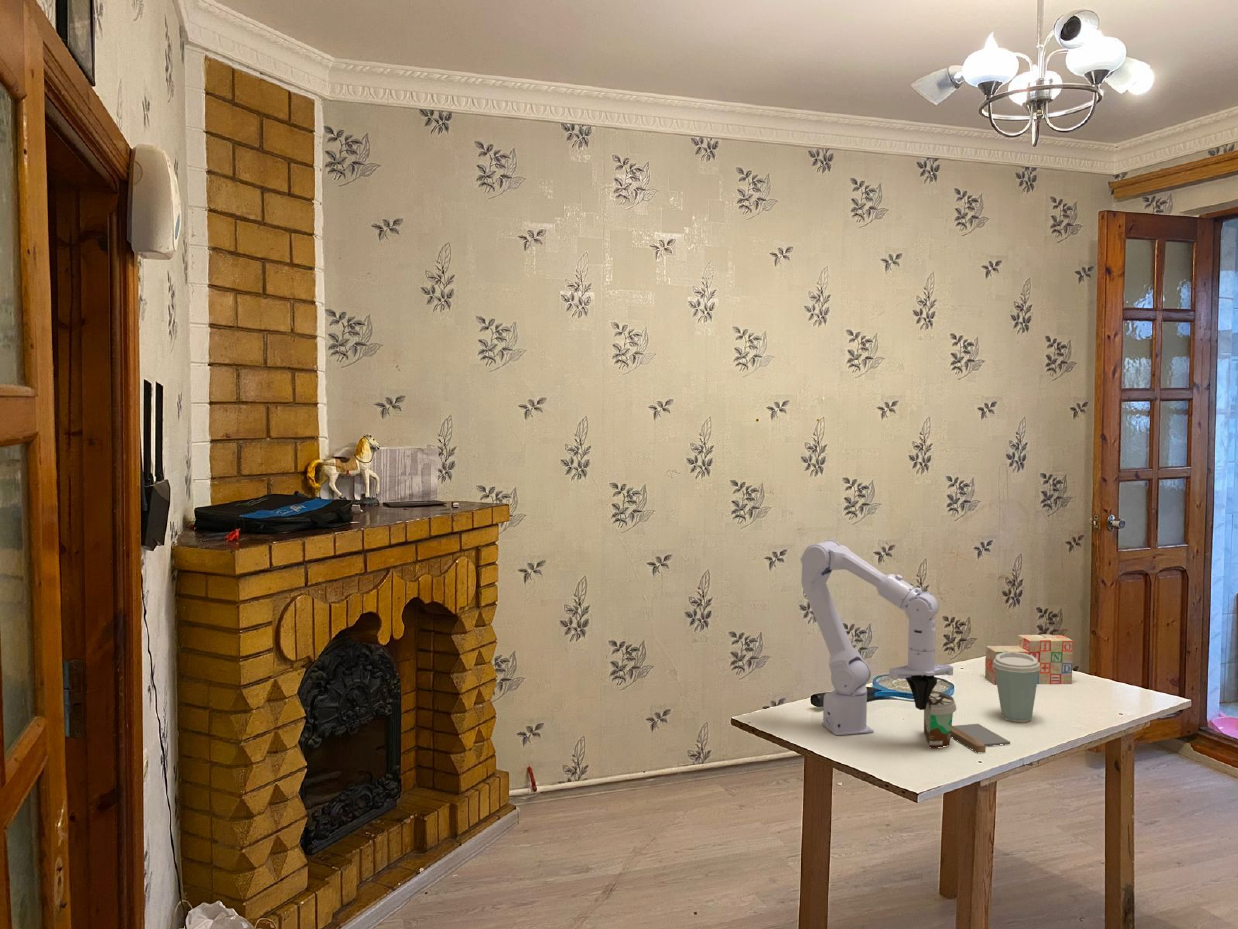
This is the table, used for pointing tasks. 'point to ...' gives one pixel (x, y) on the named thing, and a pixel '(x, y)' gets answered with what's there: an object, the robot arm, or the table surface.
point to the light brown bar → (967, 740)
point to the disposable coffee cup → (1016, 684)
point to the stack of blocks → (1039, 657)
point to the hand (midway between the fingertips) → (920, 708)
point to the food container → (938, 719)
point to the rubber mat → (982, 734)
